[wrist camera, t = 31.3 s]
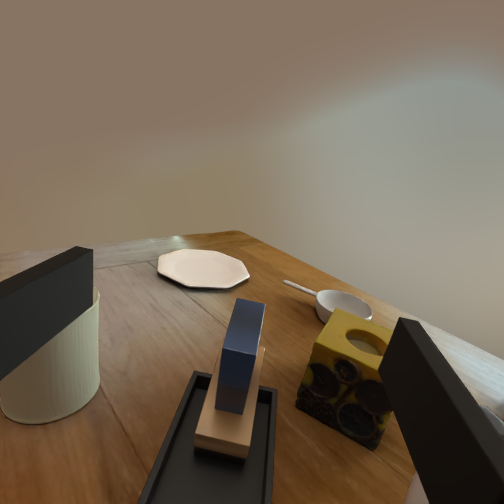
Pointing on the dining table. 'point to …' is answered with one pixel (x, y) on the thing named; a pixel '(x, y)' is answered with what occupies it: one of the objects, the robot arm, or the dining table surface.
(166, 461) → the tray
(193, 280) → the plate
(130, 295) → the dining table surface
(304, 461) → the dining table surface
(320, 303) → the small pan
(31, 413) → the can
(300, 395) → the candle
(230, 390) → the blue block with base
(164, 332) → the dining table surface
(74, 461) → the dining table surface
